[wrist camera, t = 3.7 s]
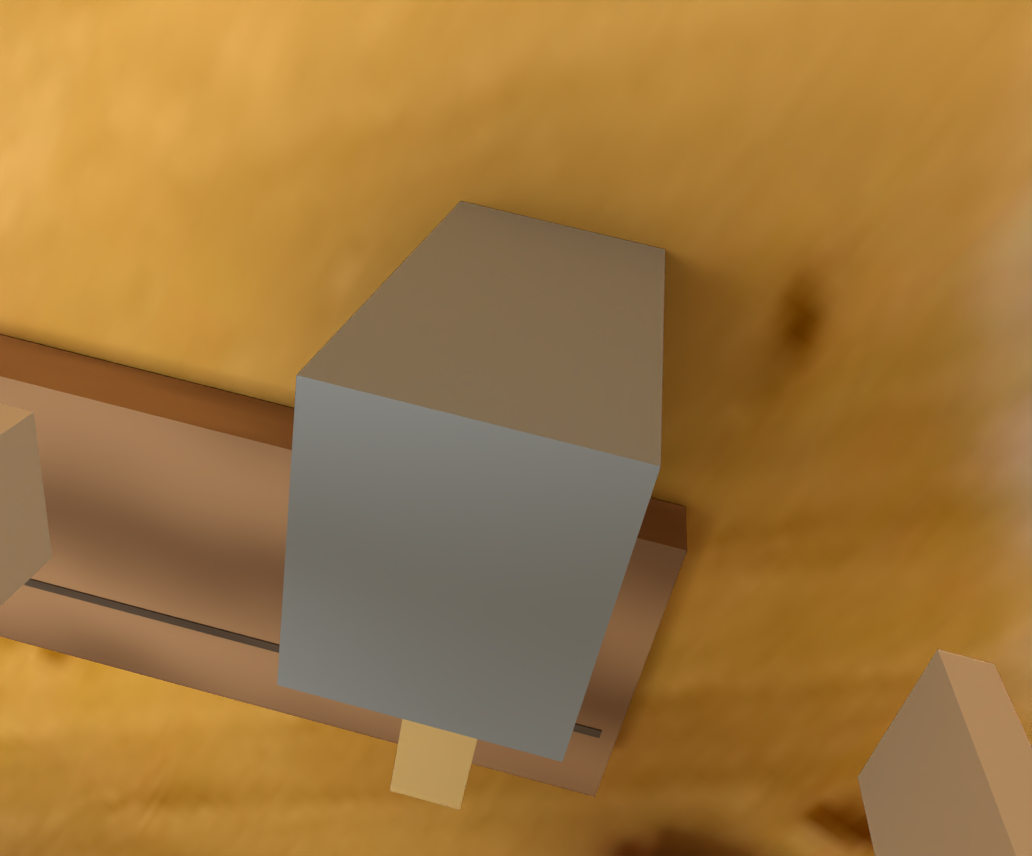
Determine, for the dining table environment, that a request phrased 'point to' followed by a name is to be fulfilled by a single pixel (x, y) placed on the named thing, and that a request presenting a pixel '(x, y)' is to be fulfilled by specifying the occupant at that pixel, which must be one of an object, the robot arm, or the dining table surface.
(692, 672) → the dining table surface
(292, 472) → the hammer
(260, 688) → the board
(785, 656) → the dining table surface
